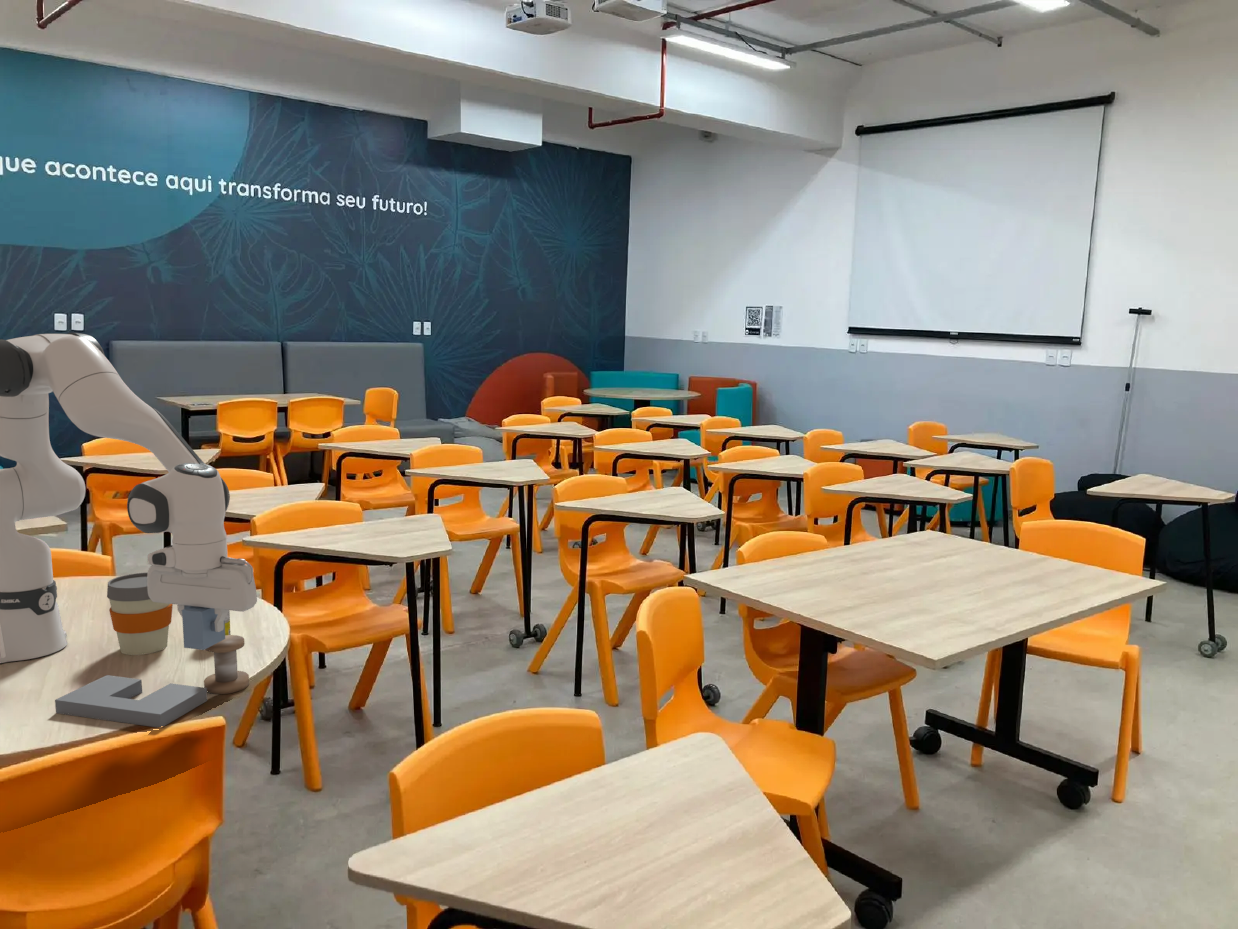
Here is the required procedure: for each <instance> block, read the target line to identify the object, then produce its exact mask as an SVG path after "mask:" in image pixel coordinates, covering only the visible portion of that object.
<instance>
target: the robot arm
mask: <svg viewBox="0 0 1238 929" xmlns="http://www.w3.org/2000/svg"><path fill="white" fill-rule="evenodd" d="M50 393H53V394H54V396H55V397H56V400H57V401H58V403H59V405H60V406H61V408H62V410H63V411H64V413H65V415H66V416H67V418H68V419H69V420H70V421H71V423H73V424H74V425H75V426H76V427H77V428H78V429H79V430H81V431H82V432H84V433H86V434H89V435H91V436H94V437H99V438H104V439H105V438H106V439H112V440H119V441H122V442H128V443H132V444H135V445H138V446H140V447H143V448H145V449H146V450H149V452H151V453H152V454H153V455H154V457H155V458H157V460H158V461H159V462H160V463H161V464H162V466H163V467H164V468H165V470H167V472H168V473H165V474H164V475H162V476H158V477H157V478H153V479H149V480H147V481H143V482H141V483H138V484H136V485H134V486H133V488H132V489H131V491H130V492H129V494H128V497H127V500H126V501H127V503H126V509H127V510H126V511H127V515H128V518H129V520H130V521H131V523H132V525H133V526H134V527H135V528H136V529H138V530H139V531H140V532H143V533H145V534H161V533H165V532H166V533H167V532H168V533H170V534H171V535H172V539H171V543H172V544H170V545H167V546H166V547H162V548H160V549H158V550H155V551H152V552H150V553H148V555H147V562H148V564H149V568H148V569H147V572H148V573H147V572H146V573H147V589H148V596H149V598H150V599H151V600H152V601H153V602H158V603H167V604H173V605H177V611H178V613H179V615H180V616H181V617H182V610H183V609H185V608H188V607H190V606H195V607H204V608H213V609H215V614H218V615H217V617H216V620H215V621H212V622H210V626H211V631H214V632H220V631H222V630H223V629H224V620H225V618H226V616H227V614H228V612H229V611H231V612H232V611H234V612H246V611H248V610H251V609H252V608H254V607H255V606H256V604H257V603H258V594H257V588H256V587H257V586H256V583H255V576H254V568H253V566H252V565H251V563H250V562H248V561H246V559H244V558H235V557H229V556H228V541H227V539H228V538H227V536H228V535H227V532H226V530H225V524H224V521H225V518H226V517H225V516H226V512H227V510H228V508H229V505H230V499H231V498H230V497H231V495H230V490H229V488H228V485H227V484H226V481H225V480H224V479H223V477H221V474H220V472H219V470H218V469H217V468H216V467H213V466H211V465H210V464H206V463H205V462H204V461H203V460H202V459H201V457H199V455H198V454H197V453H196V452H195V451H194V449H193V448H192V447H191V446H190V444H188V442H187V441H186V440H185V439H184V437H183V436H182V435H181V434H180V433H179V432H178V431H177V429H176V428H175V427H174V425H172V423H171V422H170V421H169V420H168V419H167V418H166V417H165V416H164V415H163V414H162V413H161V412H160V411H159V410H158V409H156V408H155V407H153V406H151V405H149V404H148V403H146V402H145V401H144V400H142V399H141V398H140V397H139V396H138V395H136V394H135V393H134V391H133V390H131V389H130V388H129V386H128V385H127V384H126V383H125V382H124V380H123V379H122V377H121V375H120V374H119V373H118V371H117V370H116V368H115V367H114V366H113V364H112V363H111V362H110V360H109V359H108V358H107V357H106V355H105V351H104V348H102V346H101V345H100V343H99V342H98V341H97V339H95V338H94V337H93V336H92V335H89V334H86V333H79V332H68V333H39V334H33V335H29V336H27V335H26V336H22V337H21V336H19V337H15V338H10V339H2V338H1V339H0V457H2V458H4V459H8V460H11V461H13V462H14V461H15V463H16V465H15V466H14V467H10V468H0V664H4V663H9V662H16V661H24V660H30V659H31V660H32V659H37V658H41V657H44V656H48V655H51V654H55V653H57V652H59V651H61V650H62V649H64V648H66V646H67V645H68V641H67V637H68V636H67V631H66V630H64V628H63V622H62V617H61V613H60V608H59V605H58V602H57V598H58V593H57V592H58V587H57V584H56V580H54V575H53V574H54V572H53V562H52V561H53V560H52V551H51V550H52V549H51V548H50V546H49V545H48V544H47V543H46V541H44V540H43V539H40V538H38V537H35V536H31V535H28V534H24V533H21V532H18V531H17V528H16V522H20V521H26V520H34V519H41V518H49V517H55V516H59V515H62V514H66V513H69V512H72V511H76V510H77V509H78V508H79V507H81V505H82V503H83V502H84V499H85V497H86V484H85V480H84V478H83V476H82V475H81V473H80V472H79V471H78V470H76V468H74V467H72V466H71V465H69V464H67V463H66V462H64V461H63V460H61V459H60V458H59V457H58V455H57V454H56V453H55V451H54V449H53V447H52V445H51V441H50V440H51V439H50V426H49V425H50V424H49V421H50V420H49V415H50V414H49V412H50V409H49V407H50V400H49V399H50V398H49V394H50Z"/></svg>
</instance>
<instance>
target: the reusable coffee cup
mask: <svg viewBox="0 0 1238 929" xmlns="http://www.w3.org/2000/svg"><path fill="white" fill-rule="evenodd" d="M147 573H148V571H147V572H137V573H136V572H135V573H130V574H125V575H120V576H117V577H114V578H112V579H110V580H108V582H107V591H106V592H107V593H106V598H107V599H108V600H109V604H110V608H109V615H110V618H111V619H110V620H111V624H112V629H113V631H115V632H116V637H117V641H118V647H119V650H120V653H122V654H123V655H128V656H142V655H149V654H153V653H157V652H160V651H163V650H164V649H165V648H166V647H167V646H168V642H169V641H168V640H169V638H168V637H169V628H170V627H169V626H170V625H171V623H172V614H173V605H174V604H167V603H158V602H153V601H152V600H151V599H150V598H149V596H148V589H147Z"/></svg>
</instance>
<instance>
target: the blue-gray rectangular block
mask: <svg viewBox="0 0 1238 929" xmlns="http://www.w3.org/2000/svg"><path fill="white" fill-rule="evenodd" d="M217 615H218V614H215V609H213V608H204V607H195V606H190V607H188V608H185V609H183V610H182V616H181V618H182V633H183V634H182V637H183V638H182V639H183V648H185V649H191V650H192V649H193V650H201V651H206V650H205V649H207V648H209V647H210V646H212V645H214V644H216V643H218V642H220V641H222V640H224V639H225V621H224V629H223V630H222V631H220V632H214V631H211V626H210V622H212V621H215V620H216V617H217Z"/></svg>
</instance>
